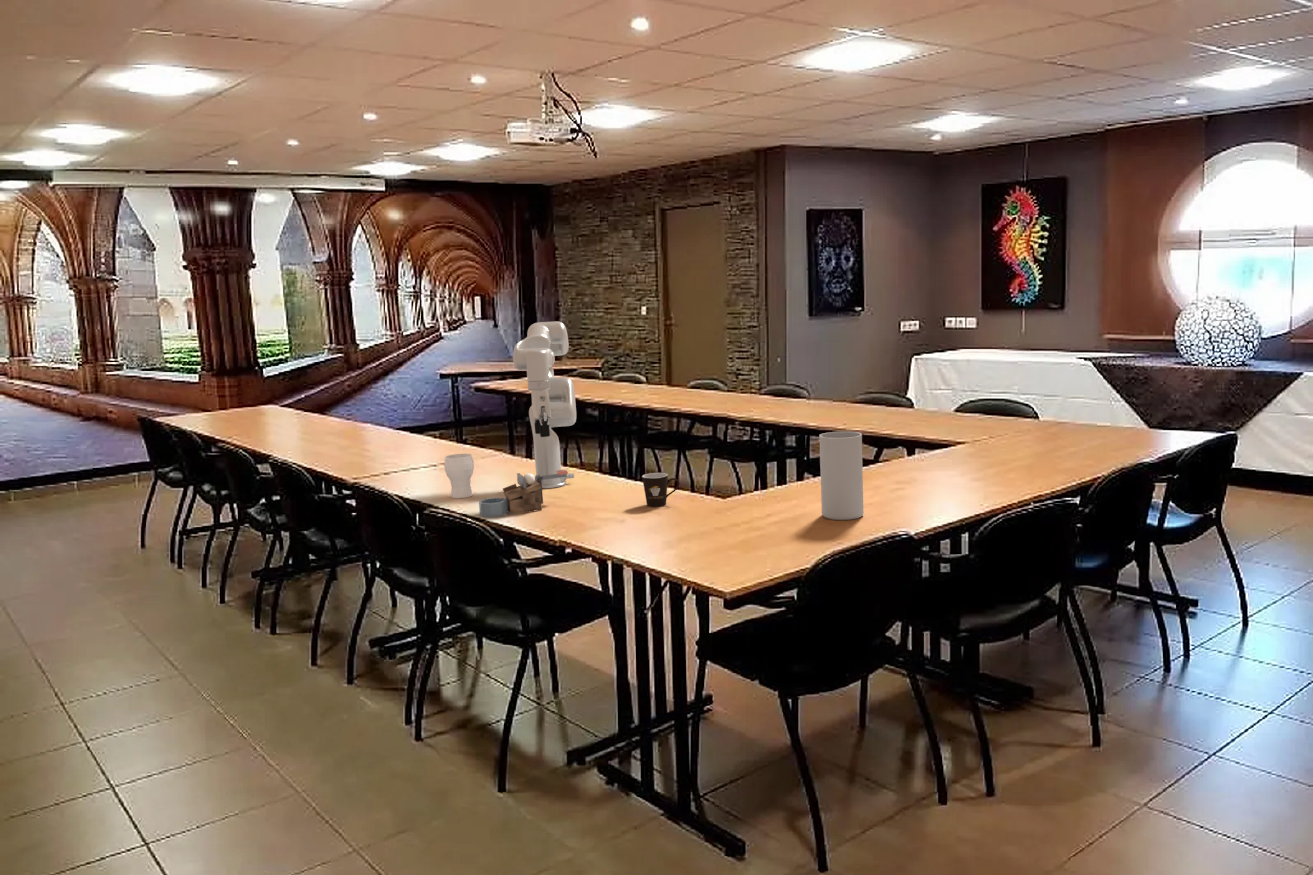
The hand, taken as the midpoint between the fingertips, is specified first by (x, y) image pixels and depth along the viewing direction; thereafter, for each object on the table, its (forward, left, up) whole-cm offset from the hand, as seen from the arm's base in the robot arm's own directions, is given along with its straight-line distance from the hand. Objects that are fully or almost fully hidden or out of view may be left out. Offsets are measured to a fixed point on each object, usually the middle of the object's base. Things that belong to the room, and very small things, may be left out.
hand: (542, 435), depth 340 cm
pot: (+20, +8, -24) cm, 32 cm away
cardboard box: (+9, +6, -23) cm, 26 cm away
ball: (+8, +8, -13) cm, 17 cm away
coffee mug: (-32, +27, -24) cm, 49 cm away
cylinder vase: (-75, +73, -24) cm, 107 cm away
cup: (+26, -27, -24) cm, 45 cm away
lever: (+2, +7, -15) cm, 17 cm away
